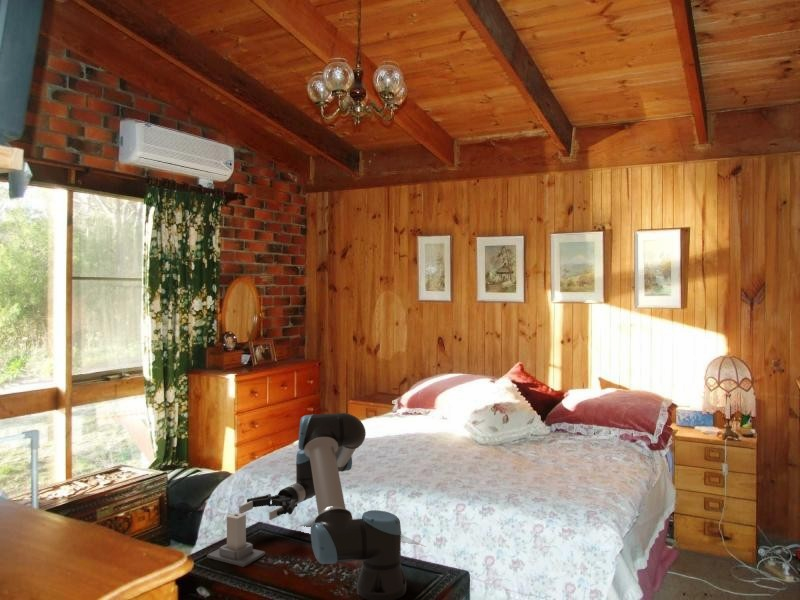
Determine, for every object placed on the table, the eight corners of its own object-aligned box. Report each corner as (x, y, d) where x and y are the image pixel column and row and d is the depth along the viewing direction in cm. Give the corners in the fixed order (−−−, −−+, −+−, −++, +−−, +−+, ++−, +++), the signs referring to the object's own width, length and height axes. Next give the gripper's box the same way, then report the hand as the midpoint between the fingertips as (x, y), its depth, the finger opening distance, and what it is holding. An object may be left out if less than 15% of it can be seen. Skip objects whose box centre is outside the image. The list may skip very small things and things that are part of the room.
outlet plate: (265, 554, 220) (265, 544, 220) (243, 567, 210) (243, 556, 210) (229, 546, 227) (229, 536, 227) (207, 557, 217) (207, 547, 217)
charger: (245, 552, 219) (245, 513, 219) (236, 556, 215) (236, 517, 215) (235, 549, 221) (235, 511, 221) (226, 554, 217) (226, 515, 217)
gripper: (317, 510, 240) (283, 529, 221) (265, 501, 252) (228, 517, 233) (317, 490, 240) (283, 507, 221) (265, 482, 252) (227, 497, 233)
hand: (254, 512), depth 227 cm, fingers open, 13 cm apart
